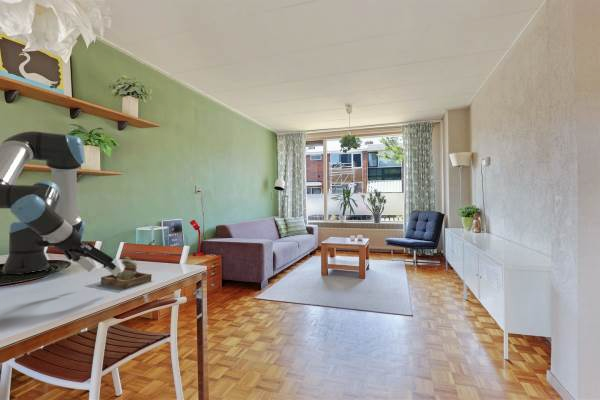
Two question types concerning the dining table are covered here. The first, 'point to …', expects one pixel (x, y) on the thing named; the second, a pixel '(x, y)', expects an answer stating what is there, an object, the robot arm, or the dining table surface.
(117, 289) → the mat
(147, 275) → the brown wooden tray
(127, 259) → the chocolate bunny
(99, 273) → the dining table surface
